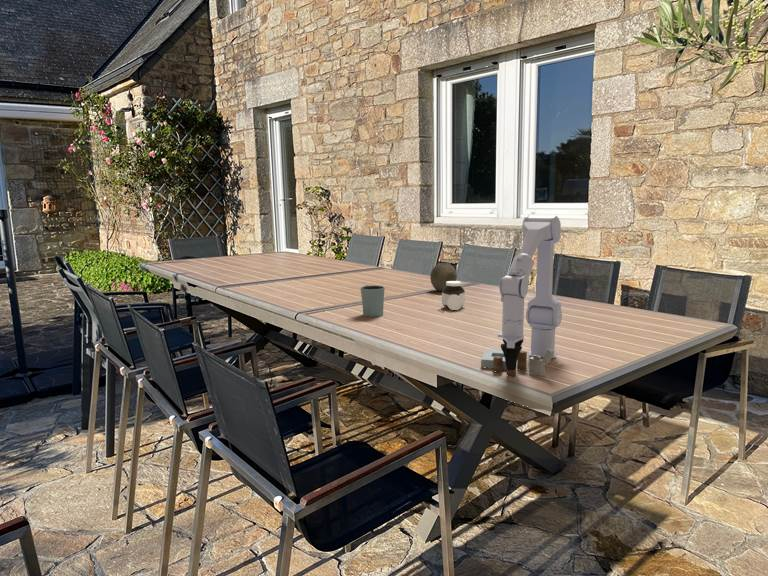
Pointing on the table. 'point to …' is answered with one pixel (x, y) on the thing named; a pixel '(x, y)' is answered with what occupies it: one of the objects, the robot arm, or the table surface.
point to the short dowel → (497, 363)
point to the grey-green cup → (372, 300)
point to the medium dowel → (522, 360)
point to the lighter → (540, 363)
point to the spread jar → (453, 295)
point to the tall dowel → (511, 372)
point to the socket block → (491, 358)
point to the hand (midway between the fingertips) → (511, 366)
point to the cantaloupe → (442, 275)
